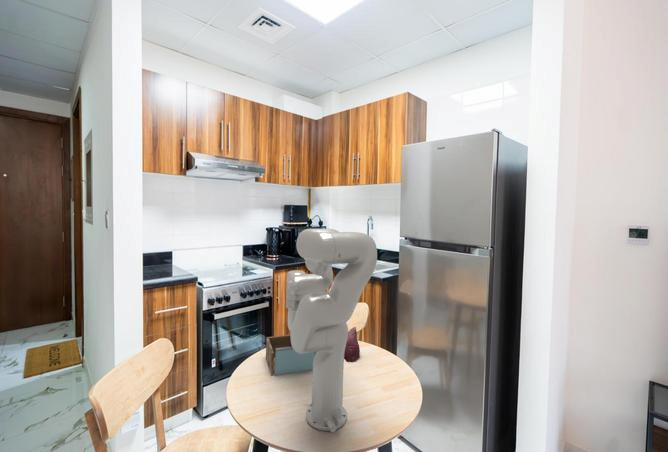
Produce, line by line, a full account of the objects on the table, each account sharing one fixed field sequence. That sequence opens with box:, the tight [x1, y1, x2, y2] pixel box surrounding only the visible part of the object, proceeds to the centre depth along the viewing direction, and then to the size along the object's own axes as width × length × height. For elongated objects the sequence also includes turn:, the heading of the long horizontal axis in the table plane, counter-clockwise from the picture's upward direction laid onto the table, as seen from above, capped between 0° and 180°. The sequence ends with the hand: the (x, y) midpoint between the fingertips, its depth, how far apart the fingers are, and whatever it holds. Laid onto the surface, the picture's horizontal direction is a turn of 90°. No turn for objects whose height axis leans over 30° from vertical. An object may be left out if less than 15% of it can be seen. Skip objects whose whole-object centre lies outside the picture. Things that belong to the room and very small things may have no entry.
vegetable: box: [344, 326, 361, 363], centre depth 135 cm, size 10×10×15 cm
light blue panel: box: [274, 346, 315, 376], centre depth 117 cm, size 1×15×11 cm, turn 110°
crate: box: [265, 334, 316, 377], centre depth 125 cm, size 15×18×10 cm
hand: (294, 349), depth 119 cm, fingers closed
